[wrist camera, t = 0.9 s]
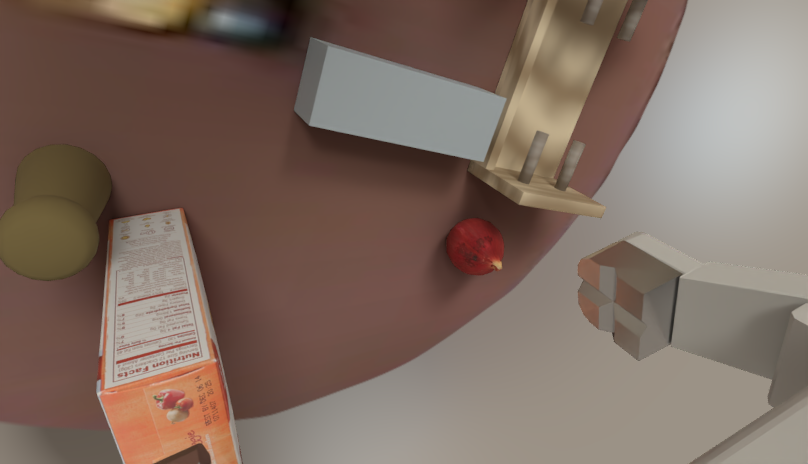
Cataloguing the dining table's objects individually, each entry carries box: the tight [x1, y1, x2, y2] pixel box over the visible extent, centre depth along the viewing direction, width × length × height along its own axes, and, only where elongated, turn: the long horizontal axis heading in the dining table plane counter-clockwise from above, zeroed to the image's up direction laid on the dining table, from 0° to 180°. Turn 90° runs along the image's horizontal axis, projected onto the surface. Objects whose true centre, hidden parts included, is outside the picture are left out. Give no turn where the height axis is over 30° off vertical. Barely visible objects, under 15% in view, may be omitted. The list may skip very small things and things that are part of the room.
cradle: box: [467, 0, 648, 218], centre depth 49 cm, size 22×11×9 cm, turn 161°
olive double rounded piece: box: [0, 144, 112, 281], centre depth 34 cm, size 6×6×11 cm
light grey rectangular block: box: [294, 37, 506, 162], centre depth 45 cm, size 17×6×5 cm, turn 71°
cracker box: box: [96, 208, 243, 464], centre depth 37 cm, size 14×6×21 cm, turn 179°
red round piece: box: [447, 218, 504, 275], centre depth 53 cm, size 6×6×8 cm
